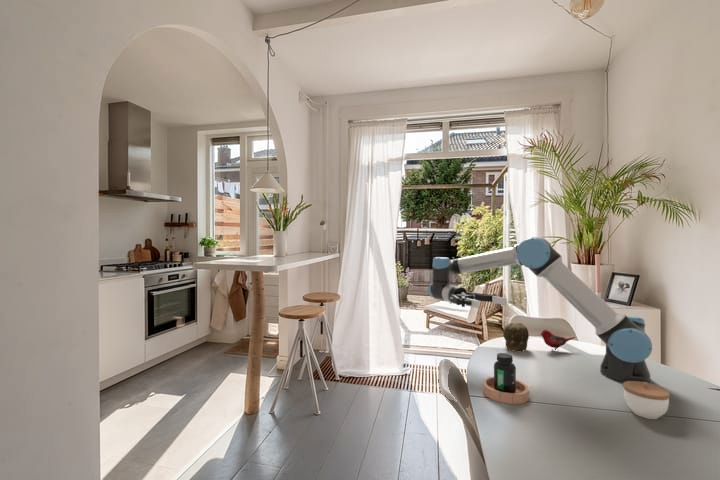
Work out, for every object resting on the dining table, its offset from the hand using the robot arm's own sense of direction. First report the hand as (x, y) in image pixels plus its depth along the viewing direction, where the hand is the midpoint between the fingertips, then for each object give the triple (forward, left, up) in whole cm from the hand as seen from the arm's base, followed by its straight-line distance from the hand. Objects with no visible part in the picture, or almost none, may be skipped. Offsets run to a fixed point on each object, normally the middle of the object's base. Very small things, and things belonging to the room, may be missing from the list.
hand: (492, 303), depth 128 cm
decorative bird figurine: (-3, -53, -28) cm, 60 cm away
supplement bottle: (-10, +9, -27) cm, 30 cm away
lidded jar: (-43, -11, -28) cm, 52 cm away
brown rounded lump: (+11, -41, -28) cm, 51 cm away
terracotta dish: (-10, +9, -28) cm, 31 cm away
